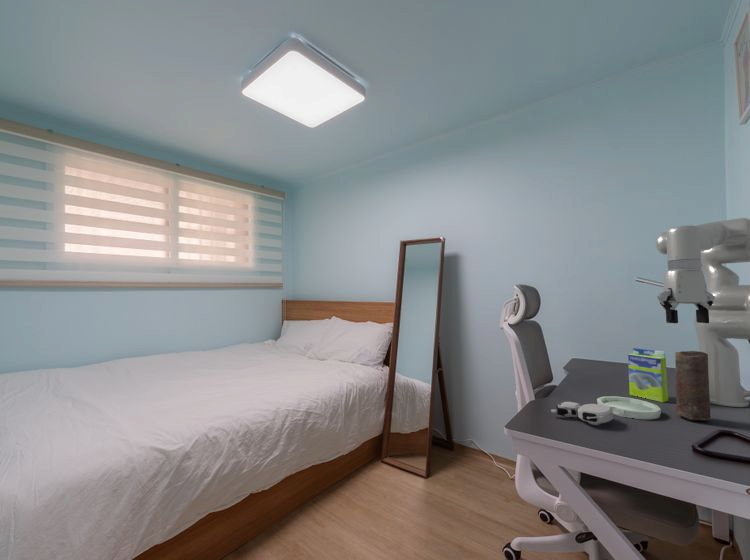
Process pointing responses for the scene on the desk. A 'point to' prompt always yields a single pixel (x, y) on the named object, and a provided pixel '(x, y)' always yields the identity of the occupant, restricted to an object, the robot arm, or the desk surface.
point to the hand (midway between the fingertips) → (687, 322)
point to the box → (648, 375)
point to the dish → (631, 407)
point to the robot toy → (585, 412)
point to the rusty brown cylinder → (692, 385)
